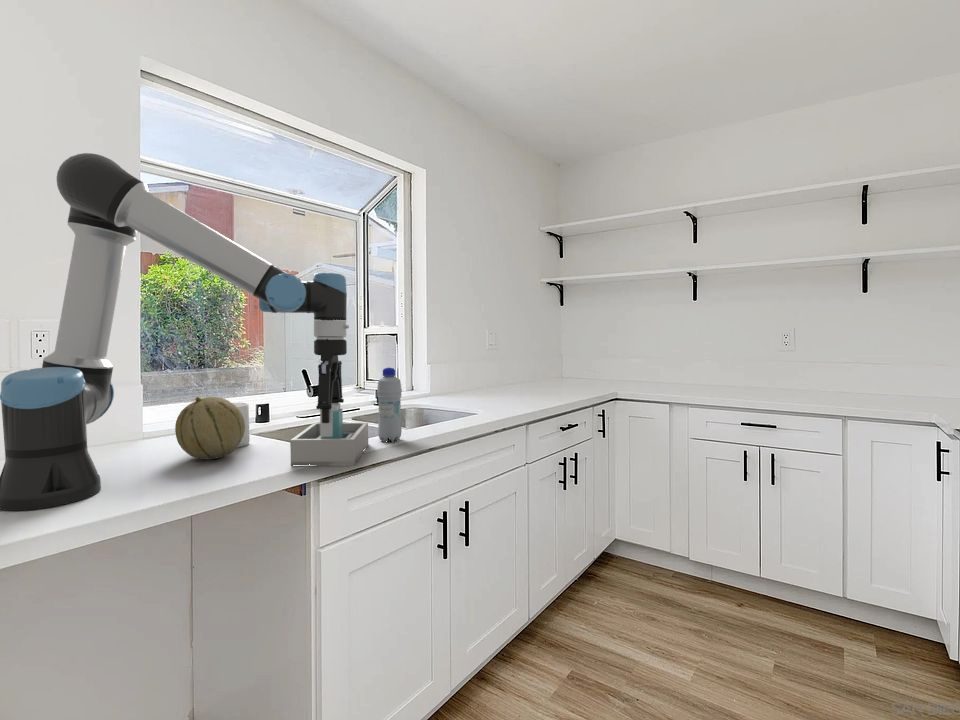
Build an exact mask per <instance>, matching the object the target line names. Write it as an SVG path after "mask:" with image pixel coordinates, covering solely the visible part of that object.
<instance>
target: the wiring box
mask: <svg viewBox="0 0 960 720" xmlns="http://www.w3.org/2000/svg"><path fill="white" fill-rule="evenodd" d="M289 443H290V445H289V446H290V449H289V450H290V467H291V466H293V465H309V464H310V465H317V466H316V467H350V466H351V467H353V466H355V465H356V464H357V463H358V461H359V460H360V458H361V456H362V455H363V454H362V452H363V450H364V449H365V448H366V447H367V448H368V446H369V422H343V439H322V437H320V422H313V423H312V424H311V425H309V426H308V427H307V428H304V429H303V430H302V431H301V432H299V433H298V434H296V435H295V436H293V438H291V439H290V441H289ZM367 445H368V446H367ZM367 448H366V449H367ZM366 449H365V450H366ZM363 453H364V452H363ZM361 454H362V455H361Z"/></svg>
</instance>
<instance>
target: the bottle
mask: <svg viewBox="0 0 960 720" xmlns="http://www.w3.org/2000/svg"><path fill="white" fill-rule="evenodd" d="M376 392H377V393H376V394H377V396H376V397H377V398H378V429H377V433H378V438H379V440H380V441H381V442H385V441H387V442H388V441H389V439H390V442H391V441H393V442H395V441H396V440H398V441H400V439H401V436H402V431H403V430H402V421H401V420H402V419H401V418H402V417H401V414H402V413H401V410H402V409H401V398H402V396H403V395H402V392H403V390H402V383H401V379H400V378H398V377H396V369H395V368H392V367H385V368H383V369H382V377H381V378H379V379H378V380H377V390H376ZM388 438H389V439H388ZM383 440H384V441H383Z"/></svg>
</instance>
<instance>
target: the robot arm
mask: <svg viewBox="0 0 960 720" xmlns="http://www.w3.org/2000/svg"><path fill="white" fill-rule="evenodd" d="M58 167H59V168H58V170H57V173H56V186H57V189H58V191H59V194H60V196H61V197H62V198H63V200H64V201H65V202H66V203H67V204H68V205H69V206H70V207H69V213H68V216H67V217H68V218H67V226H68V227H69V228H70V229H71V231H72V232H73V233H74V240H73V247H72V252H71V258H70V264H69V268H68V275H67V279H66V285H65V291H64V297H63V303H62V309H61V313H60V320H59V325H58V330H57V334H56V335H57V336H56V341H55V347H54V351H53V352H51V353H50V354H48V355H47V356H45V357H43V360H42V365H41V367H36V368H31V369H29V370H28V369H24V370H19V371H15V372H12V373H9V374H7V375H6V376H4V378H3V379H2V380H1V383H0V385H1V387H0V388H1V389H0V390H1V391H0V405H1V414H2V415H1V417H2V429H3V432H2V433H3V444H4V458H5V459H4V460H5V461H4V464H3V468H2V470H1V473H0V510H2V509H5V510H4V511H28V510H39V509H47V508H52V507H57V506H62V505H66V504H72V503H74V502H78V501H82V500H83V499H87V498H90V497H92V496H95V495H96V494H97V493H99V492H100V491H101V490H102V489H101V488H102V486H101V485H102V484H101V483H102V482H101V476H100V474H98V471H97V469H96V466H95V463H94V461H93V459H92V457H91V455H90V453H89V451H88V449H89V448H88V438H87V437H88V435H87V434H88V432H87V431H88V430H87V425H90V424H91V423H94V422H95V421H97V420H99V419H100V418H102V416H104V414H106V413H107V411H108V410H109V408H110V407H111V406H112V403H113V401H114V397H115V391H114V385H113V382H112V375H113V370H114V364H112V363H111V361H110V360H109V359H108V358H107V355H108V351H109V350H108V349H109V344H110V337H111V332H112V326H113V322H114V316H115V311H116V309H115V308H116V305H117V304H116V303H117V299H118V298H117V297H118V292H119V289H120V288H119V287H120V282H121V281H120V280H121V278H122V277H121V276H122V272H123V271H122V270H123V265H124V258H125V252H126V247H127V246H128V245H130V244H131V243H134V242H136V240H137V234H138V233H140V234H141V235H143V236H145V237H146V238H149V239H151V240H152V241H154V242H156V243H158V244H159V245H162V246H163V247H165V248H167V249H169V250H171V251H172V252H174V253H176V254H178V255H179V256H180V257H181V256H182V257H183V258H184V259H186V260H188V261H190V262H192V263H194V264H195V265H197V266H199V267H201V268H203V269H205V270H206V271H208V272H210V273H212V274H214V275H215V276H217V277H219V278H221V279H223V280H225V281H226V282H228V283H230V284H231V285H233V286H236V287H237V288H239V289H241V290H243V291H245V292H246V293H248V294H250V295H251V296H254V297H255V298H257V299H258V306H259V310H260V311H261V312H265V313H272V314H273V313H274V314H278V313H280V314H281V313H283V314H292V313H293V314H301V313H302V314H305V313H307V314H313V336H314V338H316V339H314V340H313V353H314V355H315V356H322V361H321V362H320V364H318V365H317V369H318V385H317V387H318V388H317V404H316V405H315V406H316V410H319V411H320V412H319V414H320V415H319V420H320V421H319V423H320V437H332V436H333V409H331V408H332V406H331V405H332V404H339V409H341V403H342V404H343V403H344V402H345V399H344V398H343V385H342V380H343V379H342V360H339V356H344V355H345V356H346V354H347V353H348V352H347V348H348V346H347V345H348V344H347V340H346V339H344V338H346V337H347V330H348V329H349V328H350V325H349V324H347V307H348V305H347V303H348V302H347V300H348V299H347V298H348V297H347V296H348V292H347V279H346V276H345V275H343V274H342V273H335V272H317V273H314V274H313V278H312V280H305V281H304V280H301V279H300V278H299V277H298V276H296V275H294V274H292V273H288V272H286V271H285V270H283V269H280V268H279V267H277V266H275V265H273V264H272V263H271V262H269V261H267V260H265V259H264V258H262V257H260V256H258V255H257V254H255V253H253V252H252V251H250V250H248V249H247V248H245V247H243V246H242V245H240V244H239V243H236V242H235V241H233V240H231V239H230V238H228V237H226V236H225V235H223V234H221V233H220V232H218V231H216V230H215V229H213V228H211V227H210V226H208V225H206V224H204V223H203V222H200V221H199V220H197V218H196V219H195V218H194V217H193V216H190V215H189V214H187V213H185V212H184V211H183V210H180V209H179V208H177V207H175V206H174V205H172V204H171V203H169V202H167V201H166V200H164V199H162V198H160V197H158V196H157V195H155V194H153V193H151V192H150V191H149V188H148V184H146V183H145V182H143V181H142V180H141V179H138V178H136V177H135V176H134V175H132V174H130V173H129V172H128V171H127V170H125V169H124V168H122V167H121V166H120V165H119V164H117V163H116V162H115V161H114V160H112V159H110V158H109V157H107V156H104V155H102V154H97V153H89V152H84V153H78V154H74V155H71V156H69V157H68V158H66V159H65V160H64V161H62V163H61V165H60V166H58Z"/></svg>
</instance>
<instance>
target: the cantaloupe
mask: <svg viewBox="0 0 960 720" xmlns="http://www.w3.org/2000/svg"><path fill="white" fill-rule="evenodd" d="M232 403H233V402H231V401H229V400H228V399H225V398H223V397H218V396H208V397H204V398H200V397H199V396H197V397H195V401H193V402H191V403H189V404H188V405H186V406H185V407H184V408H183V409H181V411H180V412H179V414H178V416H177V418H176V422H175V425H174V426H175V427H174V429H175V430H174V432H175V437H176V438H175V439H176V441H177V443H178V445H179V446H180V448H181V449H182V450H183V451H184V452H185V453H186V454H187V455H189V456H190V457H193V458H195V459H199V460H213V459H214V460H215V459H219V458H223V457H225V456H227V455H230V454H231V453H232V452H233V451H234V450H235V449H238V448H237V446H238V445H239V443H240V442H241V440H242V438H243V436H244V431H245V422H244V418H243V415H242V414H241V412H240V411H239V409H238V408H237V407H236V406H235V405H234V404H232Z"/></svg>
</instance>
